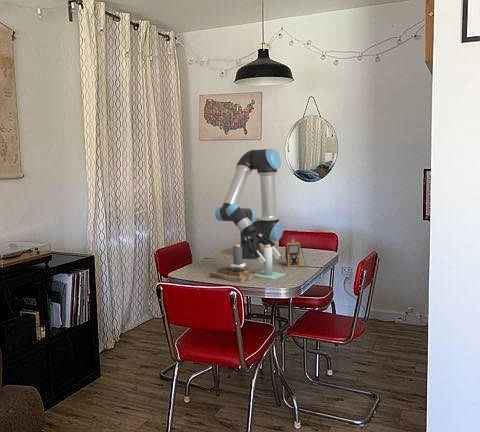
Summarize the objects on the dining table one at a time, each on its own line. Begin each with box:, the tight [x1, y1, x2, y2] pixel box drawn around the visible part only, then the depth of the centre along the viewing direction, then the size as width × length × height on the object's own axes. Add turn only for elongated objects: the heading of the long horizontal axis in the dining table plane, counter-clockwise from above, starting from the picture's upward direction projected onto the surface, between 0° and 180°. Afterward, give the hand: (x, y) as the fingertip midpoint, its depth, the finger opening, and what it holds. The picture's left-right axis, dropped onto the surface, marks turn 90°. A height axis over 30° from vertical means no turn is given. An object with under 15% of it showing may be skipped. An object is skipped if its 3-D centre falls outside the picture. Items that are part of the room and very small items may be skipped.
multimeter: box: [280, 229, 307, 270], centre depth 265 cm, size 15×10×20 cm
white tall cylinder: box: [263, 245, 273, 275], centre depth 249 cm, size 4×4×15 cm
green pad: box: [254, 270, 287, 281], centre depth 250 cm, size 12×14×1 cm
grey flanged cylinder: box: [229, 243, 247, 272], centre depth 244 cm, size 5×7×15 cm
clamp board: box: [209, 266, 256, 283], centre depth 248 cm, size 11×20×4 cm, turn 51°
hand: (271, 259), depth 248 cm, fingers open, 13 cm apart
